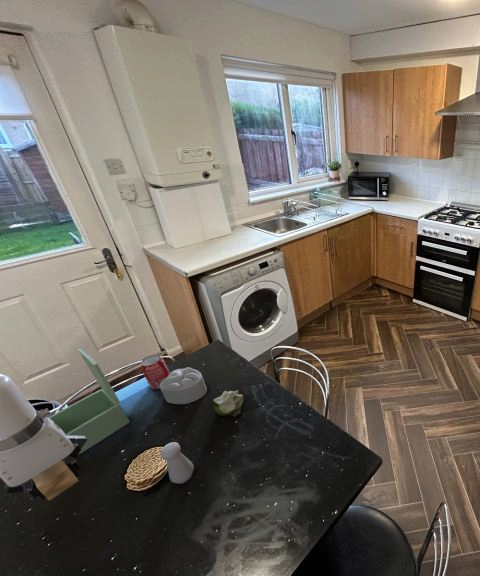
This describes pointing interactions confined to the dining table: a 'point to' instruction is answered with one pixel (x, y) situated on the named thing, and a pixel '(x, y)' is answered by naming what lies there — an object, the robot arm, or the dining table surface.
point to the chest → (91, 418)
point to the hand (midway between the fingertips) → (59, 483)
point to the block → (55, 480)
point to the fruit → (228, 403)
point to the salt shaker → (177, 463)
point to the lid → (99, 375)
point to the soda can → (154, 370)
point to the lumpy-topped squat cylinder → (183, 386)
